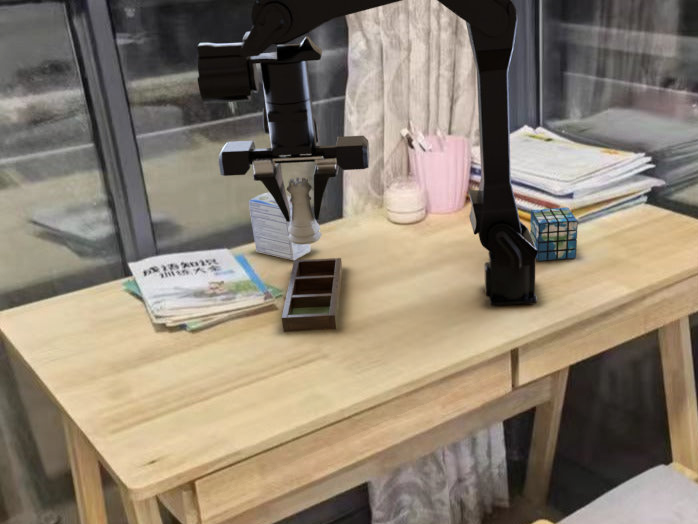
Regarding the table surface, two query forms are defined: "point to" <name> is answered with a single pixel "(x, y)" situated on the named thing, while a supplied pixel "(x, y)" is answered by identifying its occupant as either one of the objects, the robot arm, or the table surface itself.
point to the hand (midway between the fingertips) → (303, 219)
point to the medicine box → (273, 229)
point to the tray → (313, 295)
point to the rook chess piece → (302, 214)
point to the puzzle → (554, 233)
